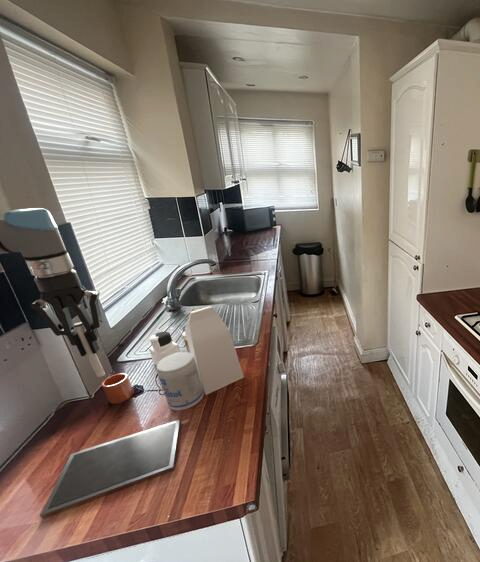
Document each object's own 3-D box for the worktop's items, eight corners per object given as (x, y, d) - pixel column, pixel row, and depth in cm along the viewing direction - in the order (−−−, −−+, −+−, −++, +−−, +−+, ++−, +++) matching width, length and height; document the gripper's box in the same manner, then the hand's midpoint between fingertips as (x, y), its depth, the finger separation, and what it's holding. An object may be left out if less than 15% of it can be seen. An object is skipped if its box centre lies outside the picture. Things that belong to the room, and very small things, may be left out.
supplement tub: (162, 412, 90) (146, 372, 84) (180, 390, 99) (167, 351, 93) (195, 411, 90) (182, 370, 85) (210, 388, 99) (199, 350, 93)
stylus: (96, 378, 86) (72, 326, 80) (98, 374, 88) (74, 323, 82) (104, 376, 87) (80, 324, 81) (105, 372, 89) (83, 321, 82)
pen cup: (107, 407, 93) (98, 389, 90) (113, 394, 98) (105, 376, 95) (132, 400, 95) (124, 382, 92) (136, 388, 100) (129, 370, 98)
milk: (205, 395, 96) (183, 323, 86) (196, 377, 104) (175, 309, 94) (244, 377, 104) (227, 309, 94) (232, 362, 112) (216, 297, 102)
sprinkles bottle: (196, 360, 114) (186, 328, 108) (208, 359, 113) (199, 328, 108) (189, 367, 109) (178, 335, 104) (201, 367, 109) (191, 335, 104)
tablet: (41, 518, 64) (39, 515, 64) (72, 456, 77) (70, 453, 77) (174, 470, 73) (173, 466, 73) (181, 422, 87) (180, 418, 86)
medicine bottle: (175, 354, 117) (166, 327, 113) (183, 360, 113) (174, 333, 109) (154, 364, 112) (143, 336, 107) (162, 371, 108) (152, 342, 103)
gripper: (4, 283, 69) (49, 368, 78) (87, 271, 75) (120, 351, 84) (21, 273, 76) (61, 352, 85) (97, 263, 82) (126, 338, 91)
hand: (90, 352), depth 85 cm, fingers closed on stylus, 2 cm apart
